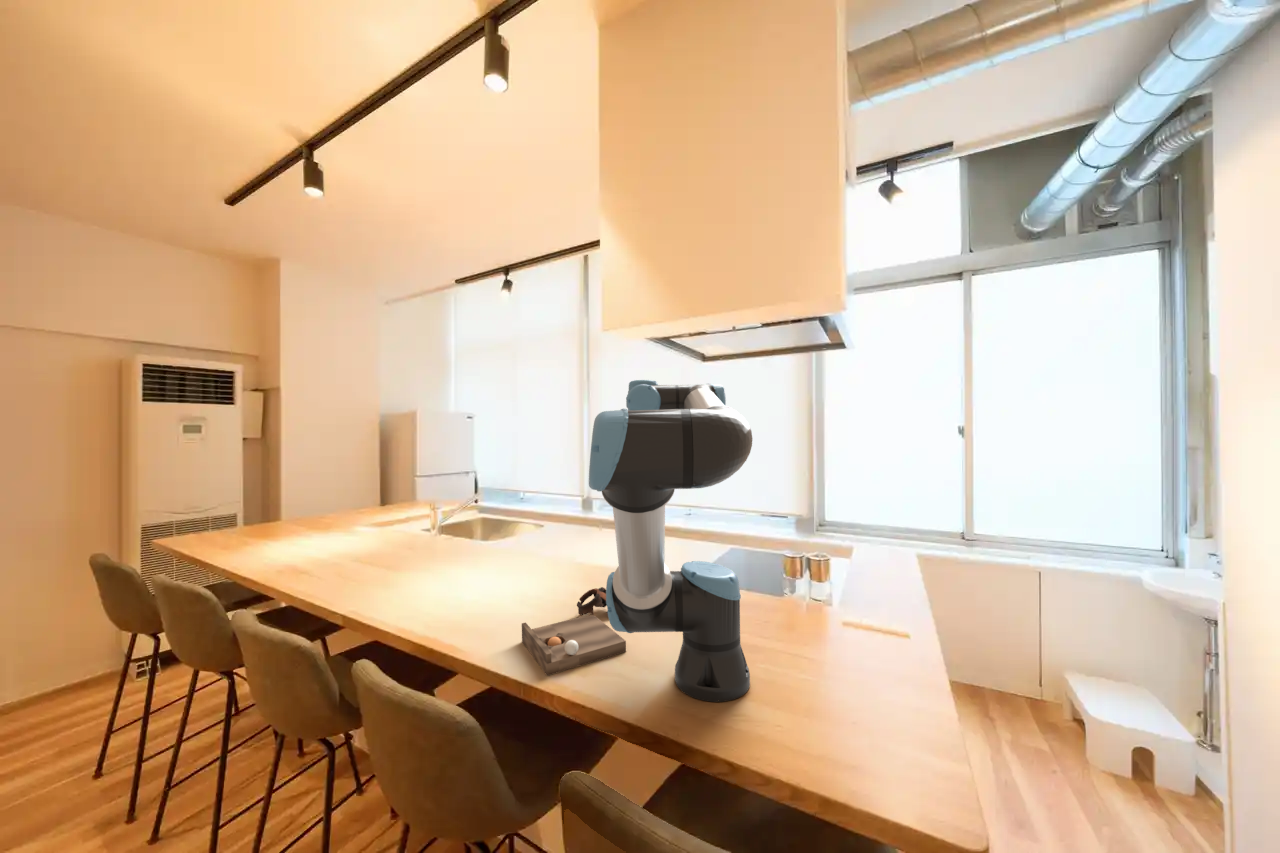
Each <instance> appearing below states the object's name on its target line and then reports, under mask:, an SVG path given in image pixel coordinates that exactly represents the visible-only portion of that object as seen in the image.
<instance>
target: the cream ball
mask: <svg viewBox="0 0 1280 853" xmlns="http://www.w3.org/2000/svg"><path fill="white" fill-rule="evenodd" d="M577 651H578V643H577V642H576V641H575V640H569V641H568V642H567V643H566V644H565V652H566V653H567V654H569V655H574V654H575V653H576V652H577Z"/></svg>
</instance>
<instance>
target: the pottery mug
mask: <svg viewBox="0 0 1280 853" xmlns="http://www.w3.org/2000/svg"><path fill="white" fill-rule="evenodd" d="M592 596H593V598H592V599H591V600H590V601H588V602H587V603H585V604H584V602H585V601H586V600H587V599H590V597H592ZM576 606H577V609H578V612H577V614H578V615H580V616H586V615H589V614H593V615H595V613H594V607H595V608H606V607H607V604H606V588H605V587H603V586H600V587H599V588H591V589H589V590H588V591H586V592H584V593H583V595H581V596H580V597H579V601H577V603H576Z"/></svg>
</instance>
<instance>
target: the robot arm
mask: <svg viewBox="0 0 1280 853" xmlns="http://www.w3.org/2000/svg"><path fill="white" fill-rule="evenodd" d="M625 399H626V400H625V402H626V403H625V406H626V408H620V410H619V409H618V410H605V411H604V410H603V411H600V412H599V413H598V414H597V415H596V416H595V418H594V420H593V426H592V427H593V428H592V433H591V434H592V435H591V444H590V456H589V466H588V467H589V470H588V487H589V488H590V489H591V490H593V491H597V492H599V493H600V492H601V494H602V496H603V499H604V501H605V502H606V503H607V504H608V505H609V506H610V507H611V508H612V511H613V512H612V513H613V521H614V523H613V524H614V531H615V532H614V534H615V542H616V552H617V562H618V566H617V567H616V569H615V571H612V572H610V574H608V577H607V580H606V588H605V589H606V604H607V606H606V608H607V618H608V621H609V624H610V626H611V627H612V628H611V629H612V630H613V629H614V630H613V631H616V632H620V633H621V632H622V633H627V634H634V633H673V632H674V633H682V643H681V647H680V650H679V654H678V658H677V660H676V663H675V665H674V681H675V684H676V686H677V687H678V688H679V690H680V691H681V692H682V693H683V694H686V695H688V696H689V697H692V698H693V699H696V700H700V701H705V702H706V701H707V702H712V703H713V702H715V703H719V702H728V701H733V700H736V699H739V698H740V697H743V696H744V695H745V694H746V693H747V692H748V691H749V689H750V685H751V676H750V675H751V674H750V669H749V667H748V664H747V660H746V657H745V654H744V650H743V648H742V645H741V644H742V643H741V602H740V601H741V597H742V596H741V593H740V592H741V591H740V590H741V588H740V581H739V578H738V575H737V574H736V573H735V572H734V571H733V570H732V569H731V568H728V567H726V566H725V565H722V564H719V563H716V562H715V563H714V562H709V561H700V560H693V561H686V562H684V563H683V564H682V565H681V568H680V571H679V570H677V571H676V570H670V569H669V567H668V566H667V565H666V564H665V556H666V554H665V550H666V548H665V544H666V543H665V542H666V541H665V540H666V536H665V534H666V533H665V532H666V526H665V525H666V505H667V504H668V503H669V501H670V500H672V498H673V496H674V493H675V490H686V489H687V490H688V489H689V490H692V489H694V490H695V489H704V488H710V487H712V486H715V485H718V484H720V483H722V482H724V481H726V480H727V479H729V478H731V477H732V476H733V475H734V474H736V473H737V472H738V471H739V470H740V469H741V468H742V466H743V465H744V464H745V463H746V462H747V460H748V458H749V456H750V454H751V451H752V447H753V434H752V429H751V426H750V425H749V422H748V421H747V420H746V418H745V417H744V416H743V415H742V414H741V413H740V412H739V411H738V410H736V409H735V408H732V407H731V406H727V405H726V404H727V403H726V401H727V399H726V391H725V388H724V386H723V385H722V384H714V383H713V384H712V383H705V384H701V383H700V384H661V385H660V384H659V383H658V381H656V380H653V379H638V380H637V379H636V380H635V379H634V380H631V381H630V382H629V383H628V391H627V394H626V398H625Z"/></svg>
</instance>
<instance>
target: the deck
mask: <svg viewBox="0 0 1280 853" xmlns="http://www.w3.org/2000/svg"><path fill="white" fill-rule="evenodd" d="M552 637H558V638H559V639H560V640H561V644H560V645H556V646H548V641H549V639H550V638H552ZM569 640H575V641H576V642H577V643H578V651H577V652H576V653H575V654H574V655H569V654H567V653H566V652H565V644H566V643H567V642H568V641H569ZM521 642H522V643H523V646H524V647H525V648H526V649H527V650H528V652H529V653H530V654H531V656H532V657H533V659H534V660H535V662H536V663H537V664H538V666H539V667H540V668H541V669H542V671H543V672H544V673H545V675H546V676H547V677H548V676H550V675H554V674H558V673H561V672H564V671H568V670H571V669H573V668H577V667H580V666H583V665H587V664H590V663H593V662H597V661H599V660H603V659H607V658H610V657H614V656H615V655H619V654H623V653H626V652H627V641H626V640H625V639H624V638H623V637H622V636H621V635H619V634H618V633H617V631H616V632H615V630H613V628H611V627H610V626H609V625H607V624H606V623H605V622H603V621H602V620H601V619H600V618H598V617H597V616H596V615H595V614H591V613H589V614H585V615H581V616H579V617H576V618H571V619H567V620H563V621H558V622H556V623H551V624H547V625H542V626H539V627H534V628H531V627H530V626H529V625H528V623H527V622H523V623H521Z"/></svg>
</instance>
